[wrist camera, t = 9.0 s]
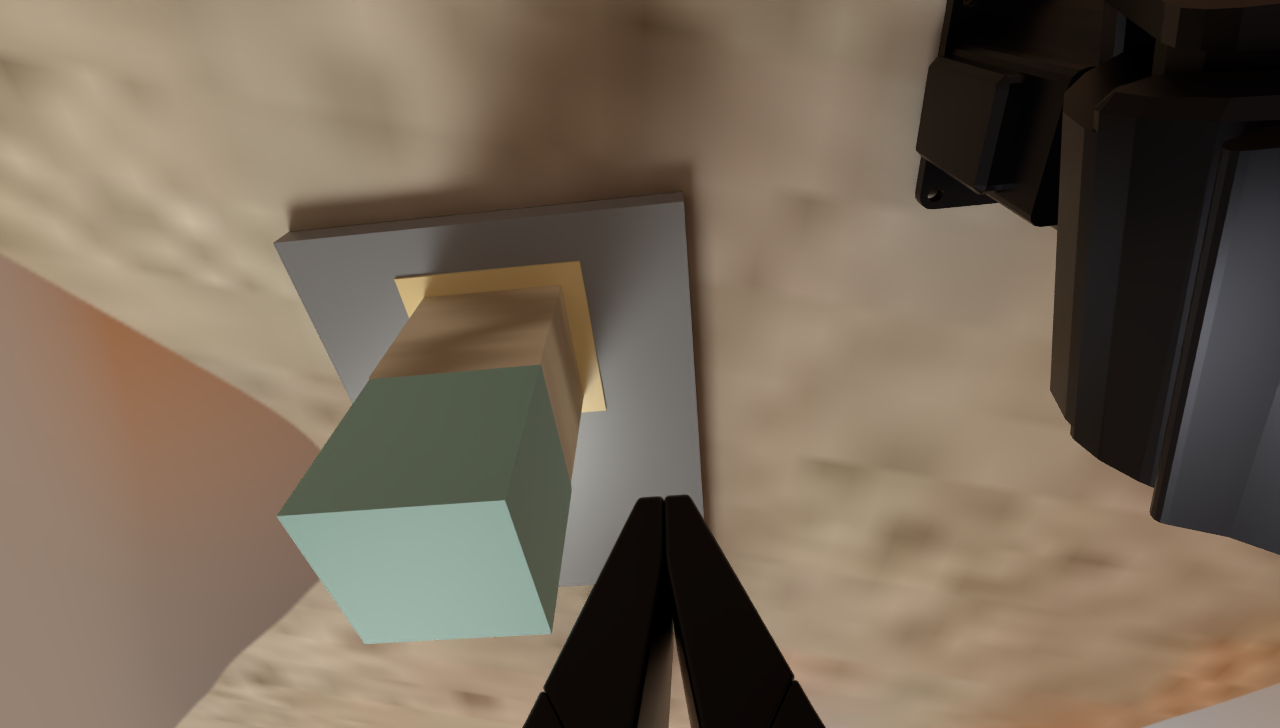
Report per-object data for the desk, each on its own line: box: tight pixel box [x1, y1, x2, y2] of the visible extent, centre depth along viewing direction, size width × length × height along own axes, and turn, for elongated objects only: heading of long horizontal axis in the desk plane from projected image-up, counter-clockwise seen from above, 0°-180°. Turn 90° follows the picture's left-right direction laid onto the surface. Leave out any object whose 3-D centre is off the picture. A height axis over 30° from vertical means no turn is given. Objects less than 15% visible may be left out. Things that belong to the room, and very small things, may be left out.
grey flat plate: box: [273, 192, 704, 587], centre depth 25 cm, size 14×20×1 cm
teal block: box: [277, 365, 572, 644], centre depth 16 cm, size 5×5×5 cm
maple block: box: [368, 285, 584, 483], centre depth 20 cm, size 5×5×5 cm
